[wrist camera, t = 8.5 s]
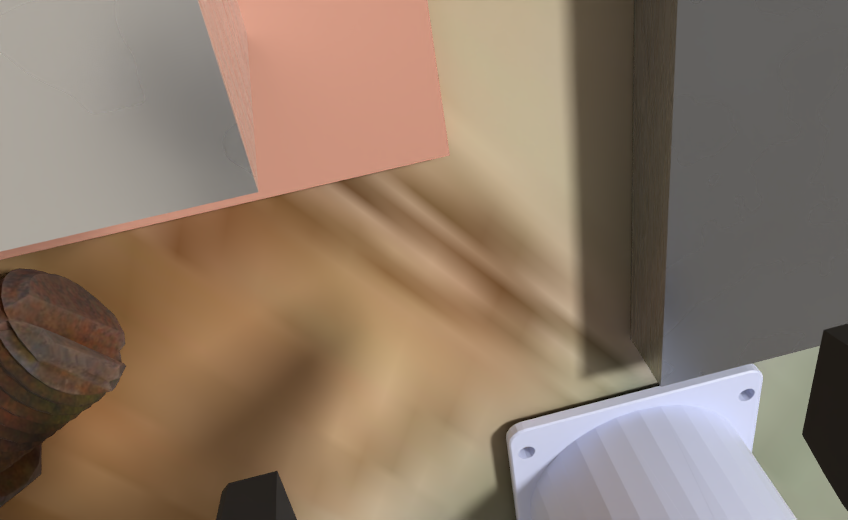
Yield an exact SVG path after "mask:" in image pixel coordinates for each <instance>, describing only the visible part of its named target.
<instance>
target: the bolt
mask: <svg viewBox="0 0 848 520" xmlns="http://www.w3.org/2000/svg"><path fill="white" fill-rule="evenodd" d="M124 345H125V337H124V332H123V330H122V328H121V326H120V324H119V322H118V321H117V319H116V317H115V315H114V314H113V313H112V312H111V311H109V310H108V309H107V308H106V307H105V306H104V305H103V304H102V303H101V302H100V301H99V300H97V299H96V298H95V297H94V296H92V295H91V294H90V293H89V292H87V291H86V290H85V289H83V288H82V287H81V286H80V285H78V284H76V283H74V282H72V281H71V280H69V279H67V278H65V277H62V276H59V275H56V274H48V273H45V272H42V271H38V270H32V269H16V270H12V271H10V272H9V273H8V274H7V275H6V277H5V278H3V279H0V507H1V506H3V505H4V504H5V503H6V502H8V501H9V500H10V499H11V498H13V497H14V496H15V495H16V494H18V493H19V492H20V491H22V490H23V489H24V488H25V487H26V486H28V485H29V484H30V483H31V482H33V481H34V480H35V479H36V478H37V477H38V476H40V475H41V443H42V442H43V441H44V440H45V439H46V438H48V437H50V436H52V435H53V434H54V433H55V432H56V431H57V430H59V429H61V428H62V427H63V426H64V425H65V424H66V423H68V422H69V421H70V420H72V419H75V418H76V417H77V416H78V415H79V414H80V413H81V412H82V411H84V410H86V409H87V408H89V407H91V405H92V404H93V403H95V402H97V401H99V400H100V399H101V398H102V397H103V396H104V395H105V393H106V392H109V391H112V390H113V389H114V388H115V387H116V385H117V383H118V382H119V380H120V377H121V375H122V373H123V371H124V369H125V367H126V365H125V364H124V363H122V362H121V355H120V350H121V349H122V347H123V346H124Z"/></svg>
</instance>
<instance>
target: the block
mask: <svg viewBox="0 0 848 520" xmlns="http://www.w3.org/2000/svg"><path fill="white" fill-rule="evenodd" d="M844 324H848V0H634V84H633V175H632V266H631V340H632V341H633V343H634V344H635V346H636V348H637V349H638V351H639V353H640V354H641V356H642V357H643V359H644V361H645V362H646V364H647V365H648V367H649V369H650V370H651V372H652V373H653V375H654V377H655V378H656V380H657V382H658V383H659V385H660V386H661V387H662V386H666V385H670V384H674V383H678V382H682V381H686V380H689V379H693V378H697V377H701V376H705V375H709V374H713V373H716V372H720V371H724V370H728V369H732V368H736V367H739V366H743V365H747V364H751V363H755V362H759V361H763V360H766V359H770V358H774V357H778V356H782V355H786V354H790V353H793V352H797V351H801V350H805V349H809V348H813V347H816V346H820V344H821V339H822V335H823V330H825V329H829V328H833V327H836V326H840V325H844Z"/></svg>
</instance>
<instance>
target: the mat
mask: <svg viewBox="0 0 848 520" xmlns="http://www.w3.org/2000/svg"><path fill="white" fill-rule="evenodd" d="M237 2H238V5H239V9H240V12H241V16H242V19H243V22H244V26H245V29H246V33H247V41H248V55H249V69H250V83H251V96H252V110H253V124H254V138H255V151H256V165H257V179H258V192H257V193H252V194H248V195H244V196H239V197H235V198H231V199H226V200H222V201H218V202H213V203H209V204H205V205H200V206H196V207H192V208H187V209H183V210H179V211H174V212H170V213H166V214H161V215H157V216H153V217H148V218H144V219H140V220H135V221H131V222H127V223H122V224H118V225H114V226H109V227H105V228H101V229H96V230H92V231H88V232H83V233H79V234H75V235H70V236H66V237H62V238H57V239H53V240H49V241H44V242H40V243H36V244H31V245H27V246H23V247H18V248H14V249H10V250H5V251H1V252H0V260H2V259H6V258H10V257H15V256H19V255H23V254H27V253H32V252H36V251H40V250H45V249H49V248H53V247H58V246H62V245H66V244H70V243H75V242H79V241H83V240H88V239H92V238H96V237H101V236H105V235H109V234H113V233H118V232H122V231H126V230H131V229H135V228H139V227H144V226H148V225H152V224H156V223H161V222H165V221H169V220H174V219H178V218H182V217H187V216H191V215H195V214H199V213H204V212H208V211H212V210H217V209H221V208H225V207H230V206H234V205H238V204H242V203H247V202H251V201H255V200H260V199H264V198H268V197H273V196H277V195H281V194H285V193H290V192H294V191H298V190H303V189H307V188H311V187H316V186H320V185H324V184H328V183H333V182H337V181H341V180H346V179H350V178H354V177H358V176H363V175H367V174H371V173H376V172H380V171H384V170H389V169H393V168H397V167H401V166H406V165H410V164H414V163H419V162H423V161H427V160H432V159H436V158H440V157H444V156H449V155H450V154H449V147H448V140H447V134H446V127H445V120H444V113H443V106H442V99H441V92H440V85H439V78H438V72H437V65H436V58H435V51H434V44H433V37H432V30H431V23H430V17H429V10H428V3H427V0H237Z"/></svg>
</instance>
